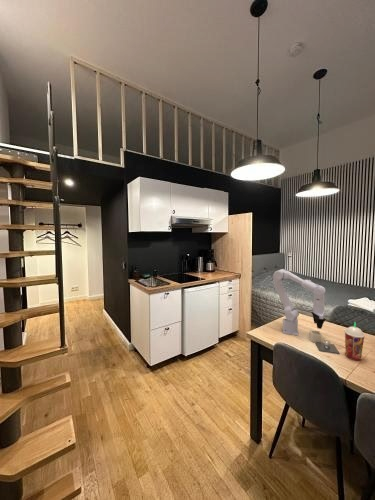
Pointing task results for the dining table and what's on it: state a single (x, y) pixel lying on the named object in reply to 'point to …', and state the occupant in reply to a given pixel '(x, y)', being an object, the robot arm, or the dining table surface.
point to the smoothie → (354, 342)
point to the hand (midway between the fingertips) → (317, 325)
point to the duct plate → (332, 348)
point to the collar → (315, 336)
